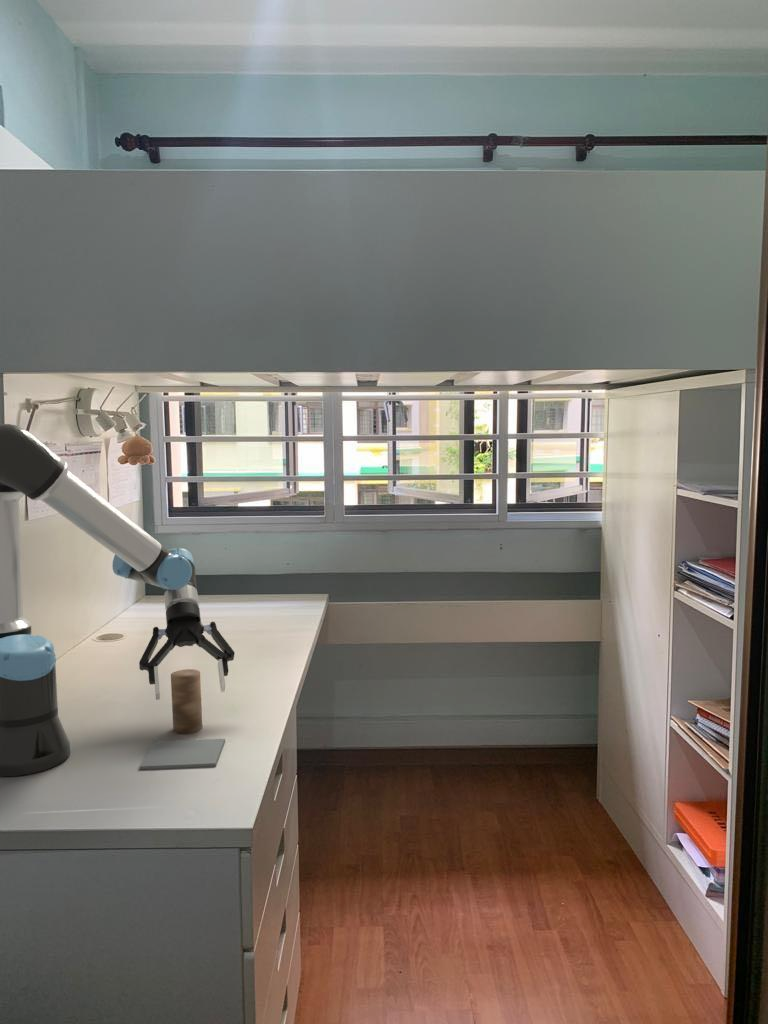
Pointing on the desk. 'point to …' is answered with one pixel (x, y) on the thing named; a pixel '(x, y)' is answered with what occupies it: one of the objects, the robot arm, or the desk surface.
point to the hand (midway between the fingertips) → (190, 692)
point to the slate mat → (183, 754)
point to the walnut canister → (186, 701)
